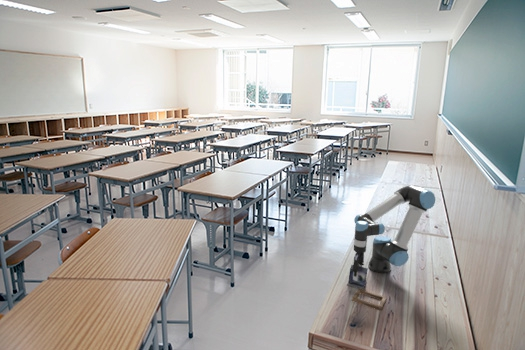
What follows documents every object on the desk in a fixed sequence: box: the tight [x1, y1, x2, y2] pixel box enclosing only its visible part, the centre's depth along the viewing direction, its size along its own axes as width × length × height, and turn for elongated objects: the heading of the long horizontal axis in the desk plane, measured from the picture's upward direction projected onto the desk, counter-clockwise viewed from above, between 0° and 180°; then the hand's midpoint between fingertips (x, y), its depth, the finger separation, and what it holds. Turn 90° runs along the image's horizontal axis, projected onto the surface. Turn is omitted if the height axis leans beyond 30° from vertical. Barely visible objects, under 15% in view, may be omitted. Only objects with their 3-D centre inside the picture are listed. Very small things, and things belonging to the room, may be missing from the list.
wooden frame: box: [351, 288, 387, 312], centre depth 203 cm, size 13×17×2 cm
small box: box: [347, 264, 369, 288], centre depth 220 cm, size 11×6×10 cm, turn 66°
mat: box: [346, 281, 368, 290], centre depth 221 cm, size 10×10×1 cm
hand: (357, 277), depth 220 cm, fingers open, 8 cm apart
